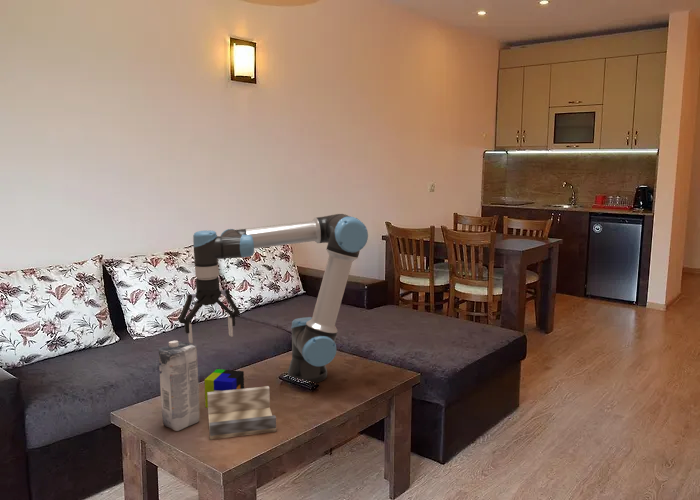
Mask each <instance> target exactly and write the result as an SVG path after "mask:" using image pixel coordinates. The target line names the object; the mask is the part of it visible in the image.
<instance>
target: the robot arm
mask: <svg viewBox="0 0 700 500" xmlns="http://www.w3.org/2000/svg"><path fill="white" fill-rule="evenodd" d="M368 237H369V233H368V229H367V226H366V225H365V223H363V222H362V220H360V219H358V218H357V217H354V216H350V215H348V214H344V213H335V214H331V215H325V216H318V217H314V218H313V219H312V220H308V221H299V222H291V223H284V224H276V225H275V224H274V225H266V226H257V227H248V228H239V229H233V228H228V229H225V230H223V232H222V233H221V234H220V236H218V234H217V232H216V230H208V229H207V230H199V231H195V232H194V234H193V237H192V239H193V241H192V242H193V244H192V246H193V247H192V248H193V257H194V259H193V260H194V270H195V271H194V272H195V274H194V275H195V278H196V279H195V288H196V290H195V291H196V292H195V293H191V292H188V293H187V294H186V300H185V302H184V305H183V308H182V309H181V312H180V315H179V317H178V319H177V320H178V322H179V323H180V324H184V332H185V334H188V335H187V336H188V337H187V338H188V343H189V344H193V343H194V342H193V341H194V340H193V329H192V327H193V326H192V325H193V324H192V323H191V321H192V320H193V318H194V317H195V316H196V314H197V312H198V311H199V310H200V309H201V308H202V307H203V306H205V307H208V306H209V305H210V306H214V305H215V304H218V305H219V306H220V307H221V308H222V309H223V310H224V311H225V312H226V313H227V314H228V316H227V325H228V328H227V329H228V335H229V337H231V338H232V337H234V329H233V328H234V327H235V326H236V317H237V316H240V315H241V311H240V310H239V308H238V307H237V305H236V303H235V301H234V300H233V298H232V296H231V294H230V293H231V292H230V290H229V289H228V288H224V289H223V290H220V278H219V276H220V275H219V273H220V272H219V260H223V259H237V258H238V259H240V258H247V257H248V258H249V257H252V256H253V255H254V253H255V249H260V248H261V249H263V248H271V247H276V246H278V247H279V246H286V245H295V244H302V243H309V242H311V243H312V242H314V243H316V244H322V243H323V244H325V243H327V246H326V252H327V254H328V258H327V262H326V266H325V270H324V273H323V276H322V281H321V284H320V289H319V291H318V295H317V299H316V303H315V306H314V309H313V313H312V317H311V316H307V317H299V318H295V319H293V320H292V321H291V327H290V329H291V360H290V363H289V365H288V369H287V376H288V375H289V376H291V377H294V378H298V379H304V380H307V381H311V382H315V383H314V384H316V383H320V382H323V381H324V380H326V379H327V378H328V370H327V365H328V364H330V363H331V362H332V361H333V360H334V358H336V354H337V351H338V350H337V344H336V339H337V334H338V328H337V327H336V322H337V320H338V319H337V318H338V315H339V312H340V309H341V304H342V300H343V297H344V293H345V289H346V287H347V283H348V279H349V275H350V272H351V268H352V264H353V262H354V261H356V260H358V259H359V255H360V251H361V250H362V249H364V247H366V245H367V243H368V239H369V238H368ZM221 296H223V297H225V299H226V301H228V303H229V305H230V307H231V308H232V310H233V311H232V310H231V309H230V308H228V307H227V305H225V304H224V302H222V301H221V300H220V298H221ZM195 299H196V300H197V301H196V303H195V304H194V306H193V307H192V309H191V310H190V307H191V305H192V302H193V301H194V300H195ZM189 310H190V311H189ZM188 311H189V313H188Z"/></svg>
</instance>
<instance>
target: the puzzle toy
mask: <svg viewBox="0 0 700 500" xmlns="http://www.w3.org/2000/svg"><path fill="white" fill-rule="evenodd" d="M244 372H245V371H244V370H231V369H222V368H216V369H215V370H214V371H212V372H211V374H209V375H208V376H207V377H206V378H205V379H204V403H205V404H204V405H205V407H204V408H207V409H208V396H207V392H215V391H225V390H235V389H245V373H244Z"/></svg>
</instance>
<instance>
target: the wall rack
mask: <svg viewBox="0 0 700 500" xmlns="http://www.w3.org/2000/svg"><path fill="white" fill-rule="evenodd" d="M207 396H208V408H207V415H208V430H209V431H208V432H209V440H219V439H225V438H226V439H227V438H235V437H242V436H251V435H261V434H266V433H275V432H277V416H276V415H275V414H272V410H271V405H270V404H271V401H270V400H271V397H270V396H271V395H270V385H265V386H259V387H258V386H256V387H247V388H245V387H244V389H235V390H225V391H215V392H207Z"/></svg>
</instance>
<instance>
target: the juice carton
mask: <svg viewBox="0 0 700 500" xmlns="http://www.w3.org/2000/svg"><path fill="white" fill-rule="evenodd" d="M157 350H158V368H159V370H158V371H159V385H160V386H159V387H160V388H159V389H160V403H161V418H162V423H163V425H164V426H165V427H167V428H170V429H171V430H174V431H176V432H180V431H181V430H184V429H185V428H187V427H190V426H193V425H195V424H197V423H199V422H200V395H199V394H200V391H199V390H200V389H199V372H198V371H199V365H198V346H197V345H194V344H193V343H190V342H185V341H178V340H171V341H168V346H162V347H159V348H158V349H157Z"/></svg>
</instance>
